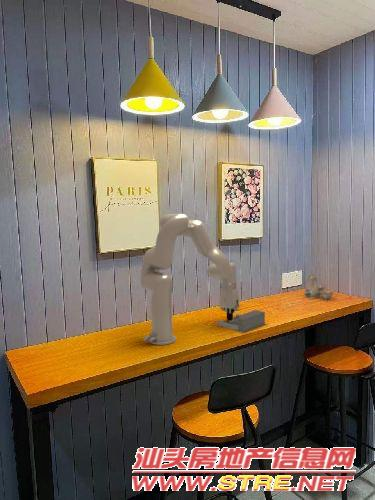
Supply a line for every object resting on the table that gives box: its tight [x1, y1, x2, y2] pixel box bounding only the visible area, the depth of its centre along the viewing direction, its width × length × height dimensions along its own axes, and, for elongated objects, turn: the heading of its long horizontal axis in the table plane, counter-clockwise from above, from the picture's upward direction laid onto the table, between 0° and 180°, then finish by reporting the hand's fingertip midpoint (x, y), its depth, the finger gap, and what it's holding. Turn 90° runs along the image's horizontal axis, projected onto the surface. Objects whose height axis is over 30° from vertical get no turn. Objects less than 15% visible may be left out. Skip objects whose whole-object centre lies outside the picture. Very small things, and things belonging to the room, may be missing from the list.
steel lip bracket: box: [216, 309, 266, 333], centre depth 191 cm, size 18×18×6 cm
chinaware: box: [303, 272, 334, 301], centre depth 247 cm, size 28×17×17 cm, turn 1°
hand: (229, 320), depth 196 cm, fingers closed
